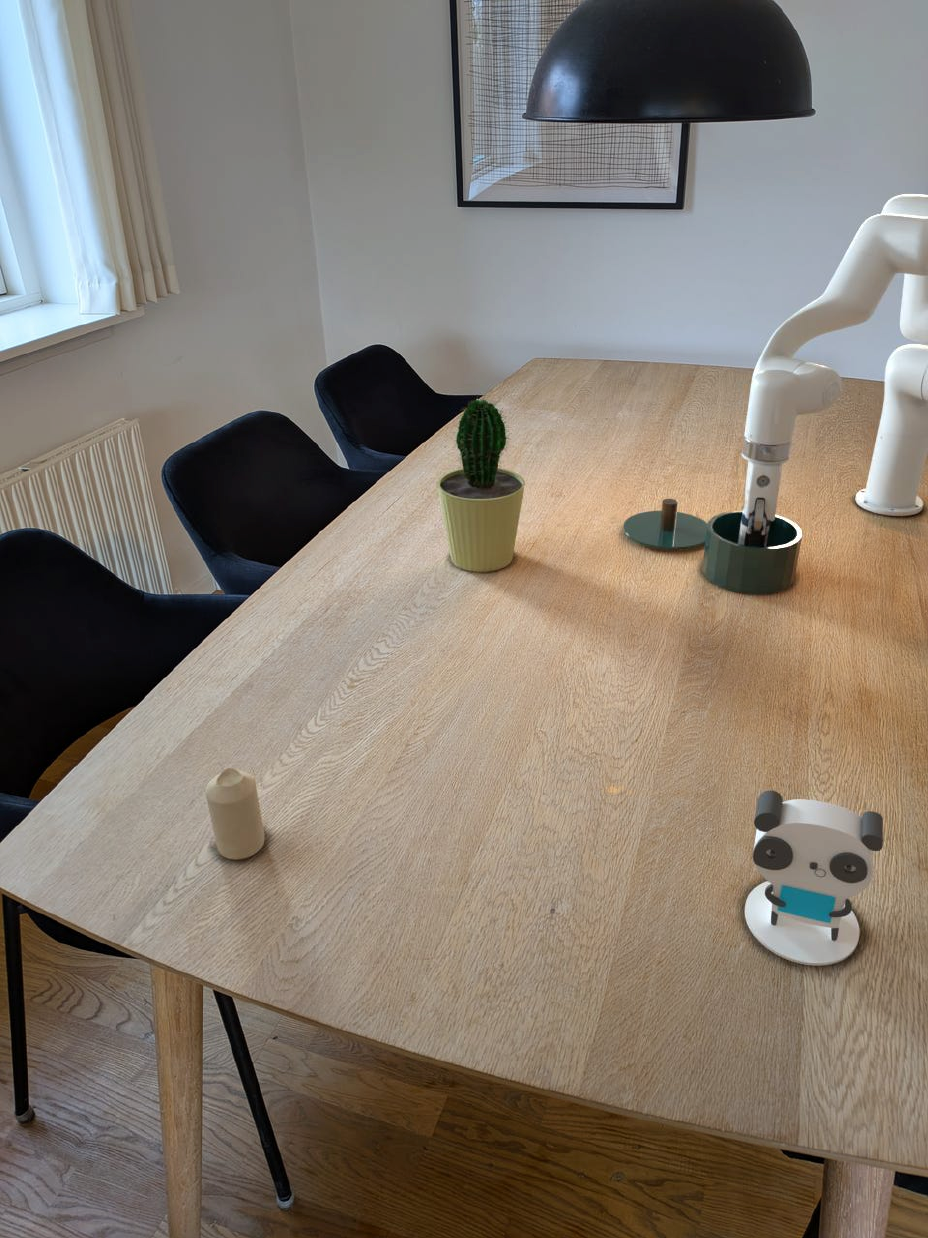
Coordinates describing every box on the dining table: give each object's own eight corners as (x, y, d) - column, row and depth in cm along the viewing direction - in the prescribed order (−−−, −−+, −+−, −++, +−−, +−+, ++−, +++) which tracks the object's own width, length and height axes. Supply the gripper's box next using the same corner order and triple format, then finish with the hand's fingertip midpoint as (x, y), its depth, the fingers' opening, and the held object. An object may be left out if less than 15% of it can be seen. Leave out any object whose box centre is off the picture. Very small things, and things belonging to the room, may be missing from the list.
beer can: (763, 577, 162) (773, 513, 156) (734, 575, 163) (743, 511, 157) (761, 565, 167) (771, 502, 160) (733, 563, 167) (742, 500, 161)
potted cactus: (422, 559, 172) (414, 398, 157) (478, 532, 181) (476, 378, 166) (484, 586, 163) (483, 418, 147) (540, 555, 172) (545, 395, 157)
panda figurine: (731, 945, 96) (751, 835, 88) (744, 868, 105) (764, 762, 97) (857, 979, 92) (890, 867, 84) (859, 896, 101) (889, 788, 93)
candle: (220, 828, 112) (207, 762, 107) (267, 825, 112) (256, 759, 107) (213, 862, 107) (199, 794, 102) (262, 858, 107) (250, 791, 102)
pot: (704, 549, 173) (709, 506, 169) (792, 558, 170) (800, 514, 166) (699, 588, 161) (705, 543, 156) (795, 598, 157) (803, 553, 153)
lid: (628, 512, 188) (630, 481, 185) (713, 520, 184) (717, 488, 181) (617, 548, 175) (620, 515, 171) (709, 557, 171) (713, 523, 167)
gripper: (792, 469, 146) (775, 567, 154) (789, 432, 160) (774, 523, 169) (741, 465, 147) (728, 562, 156) (743, 429, 162) (731, 520, 170)
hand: (752, 542), depth 162 cm, fingers open, 9 cm apart
